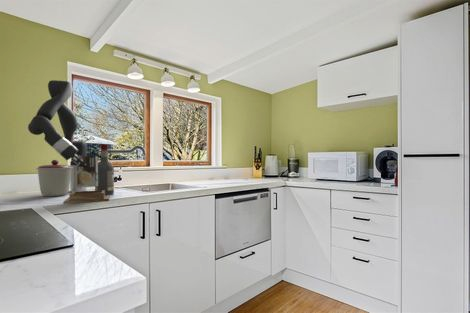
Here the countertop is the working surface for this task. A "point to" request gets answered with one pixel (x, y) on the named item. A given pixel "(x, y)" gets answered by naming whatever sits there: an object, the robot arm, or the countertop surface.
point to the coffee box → (83, 176)
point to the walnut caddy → (87, 196)
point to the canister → (54, 179)
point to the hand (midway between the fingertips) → (91, 171)
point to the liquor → (105, 173)
